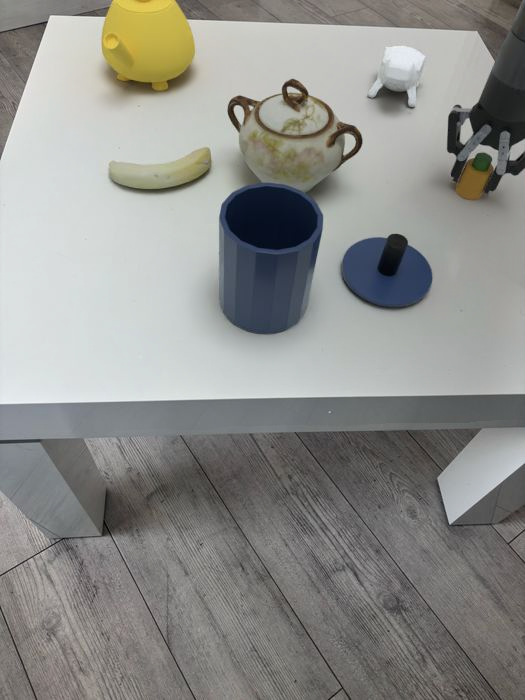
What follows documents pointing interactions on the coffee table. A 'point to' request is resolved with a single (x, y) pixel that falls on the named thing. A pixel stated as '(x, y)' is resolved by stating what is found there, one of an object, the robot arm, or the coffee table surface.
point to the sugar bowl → (292, 137)
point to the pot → (267, 256)
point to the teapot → (147, 41)
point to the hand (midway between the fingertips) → (471, 184)
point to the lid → (387, 271)
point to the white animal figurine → (400, 71)
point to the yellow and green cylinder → (475, 176)
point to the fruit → (162, 171)
